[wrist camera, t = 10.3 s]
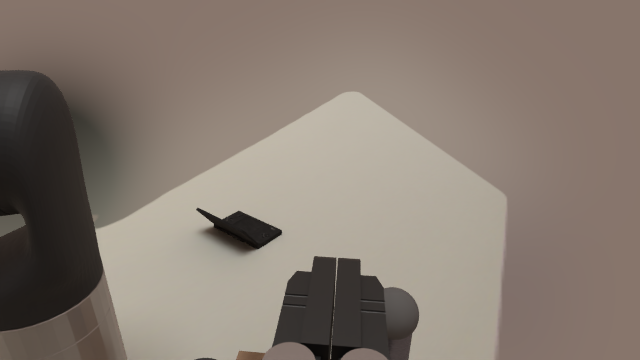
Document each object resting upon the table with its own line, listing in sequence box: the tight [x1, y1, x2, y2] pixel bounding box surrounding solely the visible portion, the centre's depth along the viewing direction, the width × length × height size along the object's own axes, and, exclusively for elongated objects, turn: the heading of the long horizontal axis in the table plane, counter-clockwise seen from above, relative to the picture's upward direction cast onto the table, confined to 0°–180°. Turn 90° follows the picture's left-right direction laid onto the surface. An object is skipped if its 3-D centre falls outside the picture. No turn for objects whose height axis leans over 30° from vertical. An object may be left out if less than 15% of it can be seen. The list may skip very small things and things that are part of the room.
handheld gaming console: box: [196, 208, 282, 249], centre depth 68 cm, size 12×7×10 cm
